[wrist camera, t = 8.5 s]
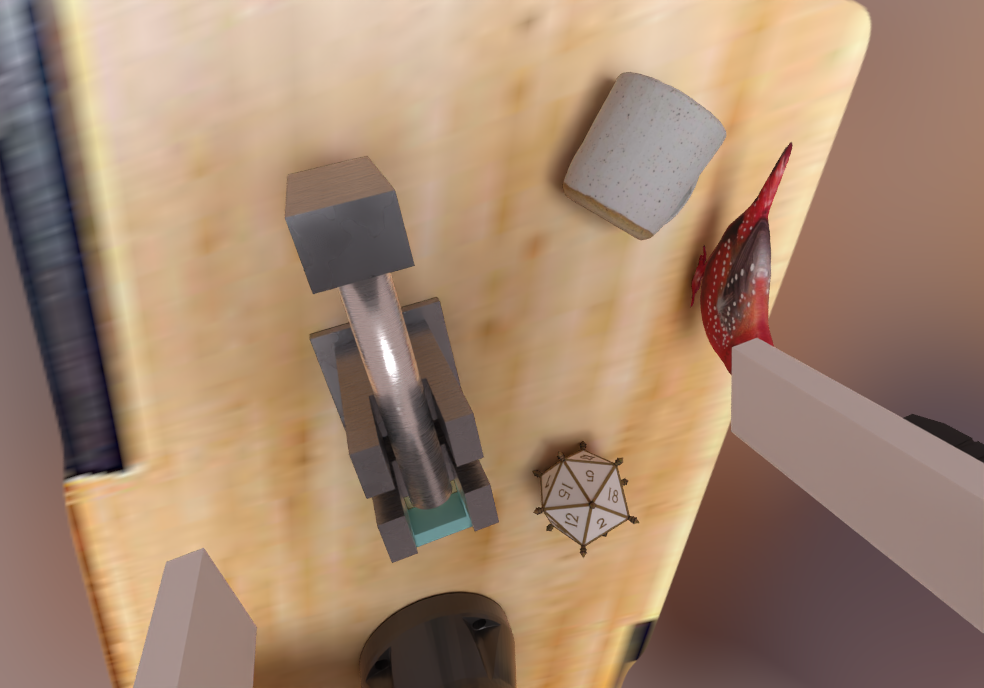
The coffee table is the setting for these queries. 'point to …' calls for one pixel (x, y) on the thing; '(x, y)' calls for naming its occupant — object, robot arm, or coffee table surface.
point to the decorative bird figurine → (740, 275)
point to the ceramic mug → (643, 155)
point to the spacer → (439, 520)
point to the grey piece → (370, 302)
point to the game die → (583, 496)
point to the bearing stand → (371, 436)
